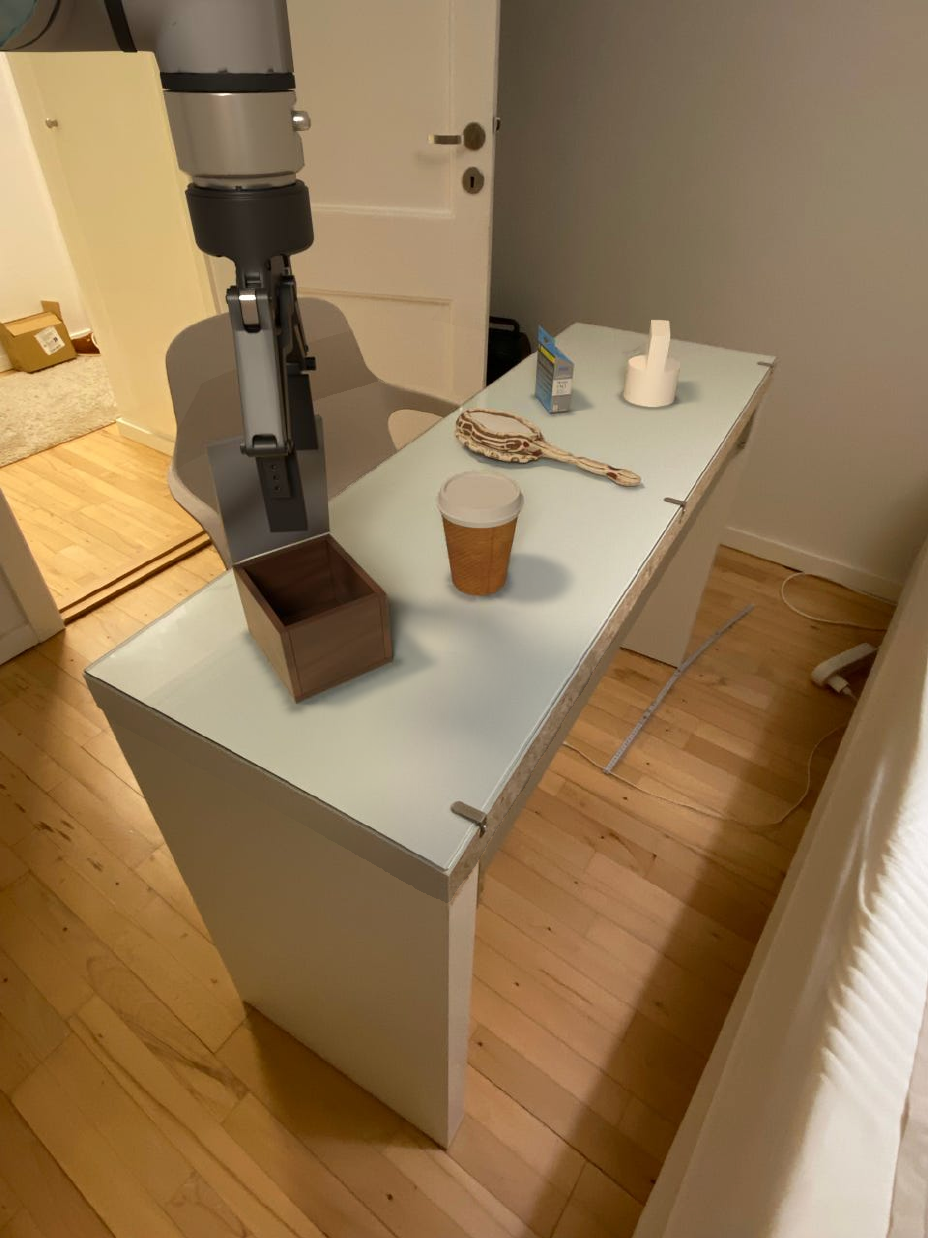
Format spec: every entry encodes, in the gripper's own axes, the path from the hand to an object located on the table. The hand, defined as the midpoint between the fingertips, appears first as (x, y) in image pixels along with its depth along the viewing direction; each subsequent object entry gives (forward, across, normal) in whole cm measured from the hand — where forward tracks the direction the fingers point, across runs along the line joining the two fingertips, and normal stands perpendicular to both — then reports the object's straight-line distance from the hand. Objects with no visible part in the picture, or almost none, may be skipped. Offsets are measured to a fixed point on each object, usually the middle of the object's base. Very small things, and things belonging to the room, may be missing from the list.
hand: (297, 485), depth 56 cm
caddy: (+21, +3, +1) cm, 21 cm away
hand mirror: (+20, +41, -30) cm, 55 cm away
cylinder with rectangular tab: (+20, +65, -54) cm, 87 cm away
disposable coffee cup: (+21, +13, -17) cm, 30 cm away
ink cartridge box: (+20, +64, -36) cm, 76 cm away
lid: (+5, +7, +3) cm, 9 cm away
